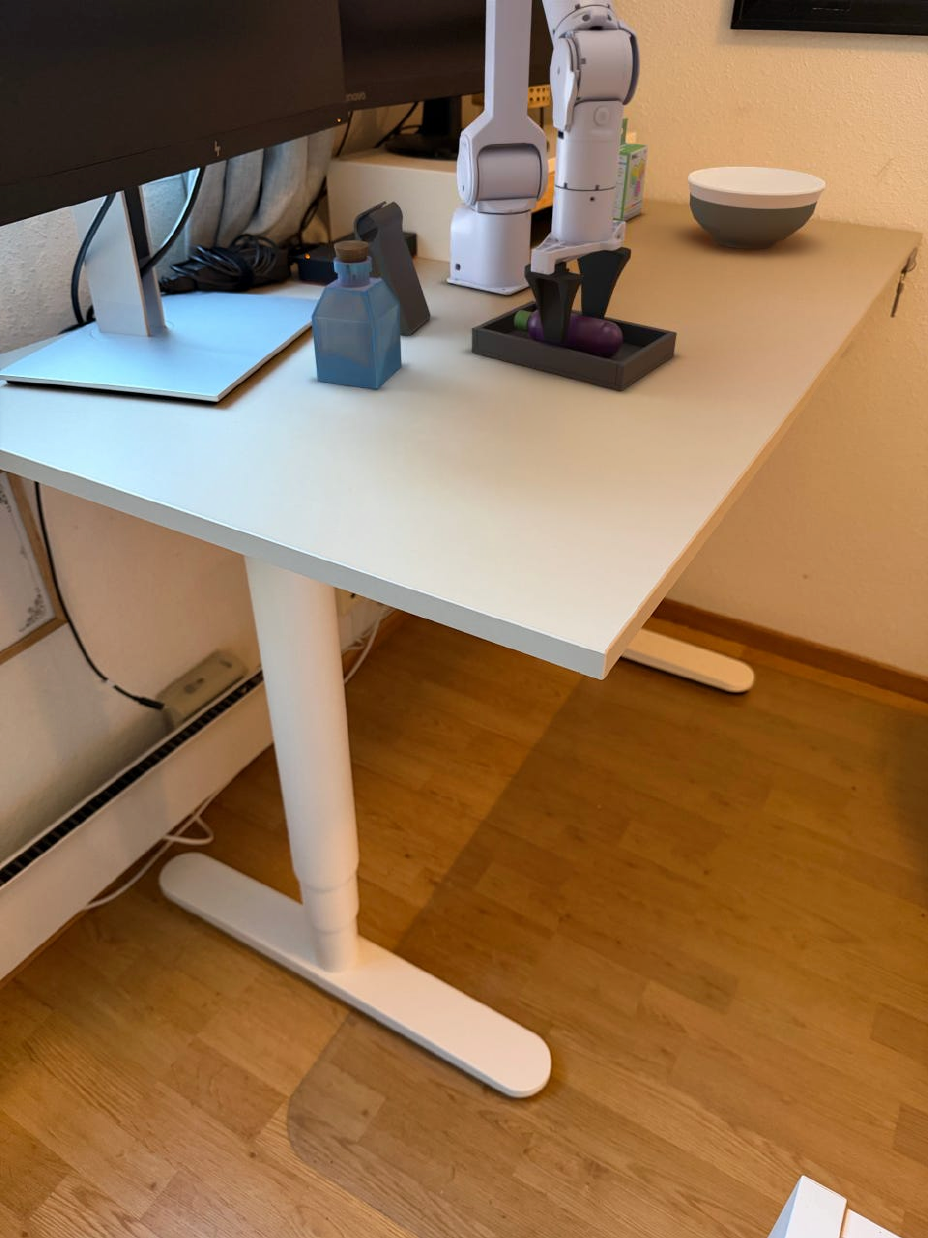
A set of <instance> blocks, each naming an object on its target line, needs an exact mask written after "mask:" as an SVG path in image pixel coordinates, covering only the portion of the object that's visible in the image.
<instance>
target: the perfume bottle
mask: <svg viewBox="0 0 928 1238" xmlns="http://www.w3.org/2000/svg"><path fill="white" fill-rule="evenodd" d="M333 247H334V251H335V255H336V256H335V257H334V258H333V269H334V272H335V273H336V274H337V279H335V280H333V281H332V282H330V283H328V284H327V285H325V286H324V288H323V290H322V292H321V295H320V297H319V299H318V300H317V303H316V305H315V307H314V309H313V312H312V314H311V325H312V326H311V327H312V336H313V337H312V339H313V346H314V356H315V365H316V366H315V367H316V376H317V381H318V382H321V383H330V384H337V385H343V386H351V387H358V388H365V389H372V390H377V389H379V388H380V387H381V386H382V385H383V384H384V383H385V382H387V381H388V380H389V379H390V378H391V377H392V376H393V375H394V374H395V373H397V372H398V371H399V370H400V369H401V368H402V366H403V365H402V361H403V360H402V341H401V339H402V338H401V337H402V336H401V335H400V313H399V303H398V301H397V300H396V298H395V297H394V295H393V294H392V292H391V291H390V289H389V288H388V286H387V285H386V283H385V282H384V280H383V279H381V278H378V279H377V278H369V272H371V271H372V260H371V257H369V256H368V249H369V244H368V243H367V242H364V241H355V240H342V241H339V242H336V243H334V244H333Z"/></svg>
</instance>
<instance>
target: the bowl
mask: <svg viewBox="0 0 928 1238" xmlns="http://www.w3.org/2000/svg"><path fill="white" fill-rule="evenodd" d="M687 182H688V186H689V207H690V210H691V213H692V216H693V218H694V220H695V222H696V223H697V224H698V225H699V226H700V227H701V229H702V230H704V231H705V232H706V233H707V234H709V235H710V236H711V237H712V238H713V239H714V241H715V242H716V243H717V244H720V245H723V246H727V247H730V248H737V249H745V250H747V249H748V250H749V249H750V250H752V249H753V250H754V249H755V250H757V249H767V248H772V247H773V246H775V245H776V243H778V242H780V241H782V240H784V239H786V238H788V237H790V236H792V235H793V234H795V233H796V232H798V231H799V230H800V229H802V228H803V227H804V226H806V224H807V223H808V222H809V220H810V219H811V217H812V216H813V215H814V213H815V211H816V207H817V204H818V201H819V199H820V197H821V195H822V194H823V192H824V190H825V189H826V188H827V184H826V181H825V180H824V179H822V178H820V177H819V176H816V175H813V174H810V173H806V172H801V171H798V170H790V169H785V168H776V167H775V168H774V167H765V166H764V167H763V166H718V167H717V166H716V167H708V168H703V169H698V170H695V171H692V172H691V173H689V175H688V177H687Z"/></svg>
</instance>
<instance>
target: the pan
mask: <svg viewBox="0 0 928 1238" xmlns="http://www.w3.org/2000/svg"><path fill="white" fill-rule="evenodd" d="M520 310H523V311H528V312H532V313H533V312H535V311H536V310H538V307H537V304H536V301H535V300H531V301H528V302H526V303H524V304H522V305H520V306H518V307H515V308H514V309H511V310H509V311H507V312H504V313H503V314H502V313H501V314H500V315H498V316H495V317H494V318H491V319H489V320H487V321H484V322H483V323H480V324H479V325H476V326H474V327H472V328H471V353H474V354H477V355H481V356H485V357H489V358H492V359H497V360H501V361H504V362H508V363H511V364H512V363H513V364H516V365H520V366H523V367H527V368H530V369H534V370H538V371H543V372H545V373H550V374H554V375H558V376H560V377H561V376H562V377H566V378H570V379H573V380H576V381H580V382H584V383H588V384H592V385H596V386H600V387H605V388H606V389H607V388H608V389H611V390H615V391H619V392H621V391H623V390H625V389H627V388H628V387H630V386H631V385H632V384H634V383H636V382H637V381H639V380H640V379H642V378H643V377H644V376H646V375H648V374H649V373H650V372H652V371H654V370H656V368H658V367H660V366H661V365H663V364H664V363H666V362H667V361H669V360H670V359H672V358H673V357H675V356H674V355H675V348H676V341H677V335H678V333H677V332H676V331H673V330H672V331H671V330H667V329H663V328H658V327H654V326H649V325H645V324H640V323H636V322H632V321H627V320H626V321H625V320H623V319H617V318H613V317H608V316H605V317H604V319H603V320H606V321H610V322H613V323H615V324H616V325H617V326H618V327H619V328H620V330H621V331H622V335H623V343H622V346H621V348H620V350H619V351H618V353H617V354H615V355H614V356H612V357H610V358H602V357H598V356H594V355H590V354H586V353H582V352H578V351H573V350H569V349H565V348H561V347H557V346H553V345H549V344H545V343H541V342H537V341H534V340H533V339H532V338H531V336H530V335H529V332H525V331H520V330H517V329H516V328H515V326H514V319H515V316H516V314H517V312H518V311H520ZM571 313H574V314H579V315H582V312H581V310H576V309H572V311H571Z"/></svg>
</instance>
